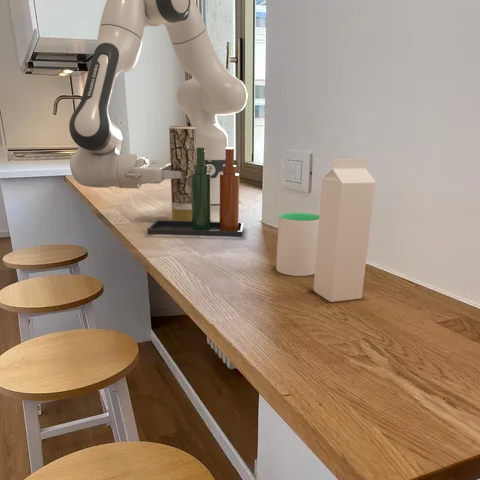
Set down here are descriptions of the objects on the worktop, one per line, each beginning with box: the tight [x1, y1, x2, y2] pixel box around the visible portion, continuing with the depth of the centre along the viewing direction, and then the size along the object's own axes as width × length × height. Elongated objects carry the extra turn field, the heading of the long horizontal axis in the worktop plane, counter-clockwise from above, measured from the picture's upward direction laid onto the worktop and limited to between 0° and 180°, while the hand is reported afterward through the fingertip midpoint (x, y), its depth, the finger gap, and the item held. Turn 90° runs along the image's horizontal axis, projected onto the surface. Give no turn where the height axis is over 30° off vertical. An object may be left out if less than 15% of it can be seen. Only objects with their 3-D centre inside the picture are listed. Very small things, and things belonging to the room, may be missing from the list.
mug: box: [275, 212, 319, 277], centre depth 96 cm, size 12×8×10 cm, turn 109°
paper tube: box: [168, 125, 196, 221], centre depth 133 cm, size 7×7×25 cm
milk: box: [312, 158, 377, 303], centre depth 79 cm, size 6×6×22 cm
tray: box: [146, 219, 245, 238], centre depth 126 cm, size 11×23×2 cm, turn 88°
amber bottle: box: [218, 147, 240, 231], centre depth 122 cm, size 5×5×20 cm
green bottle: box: [191, 147, 212, 230], centre depth 122 cm, size 5×5×20 cm
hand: (183, 172), depth 132 cm, fingers open, 8 cm apart
